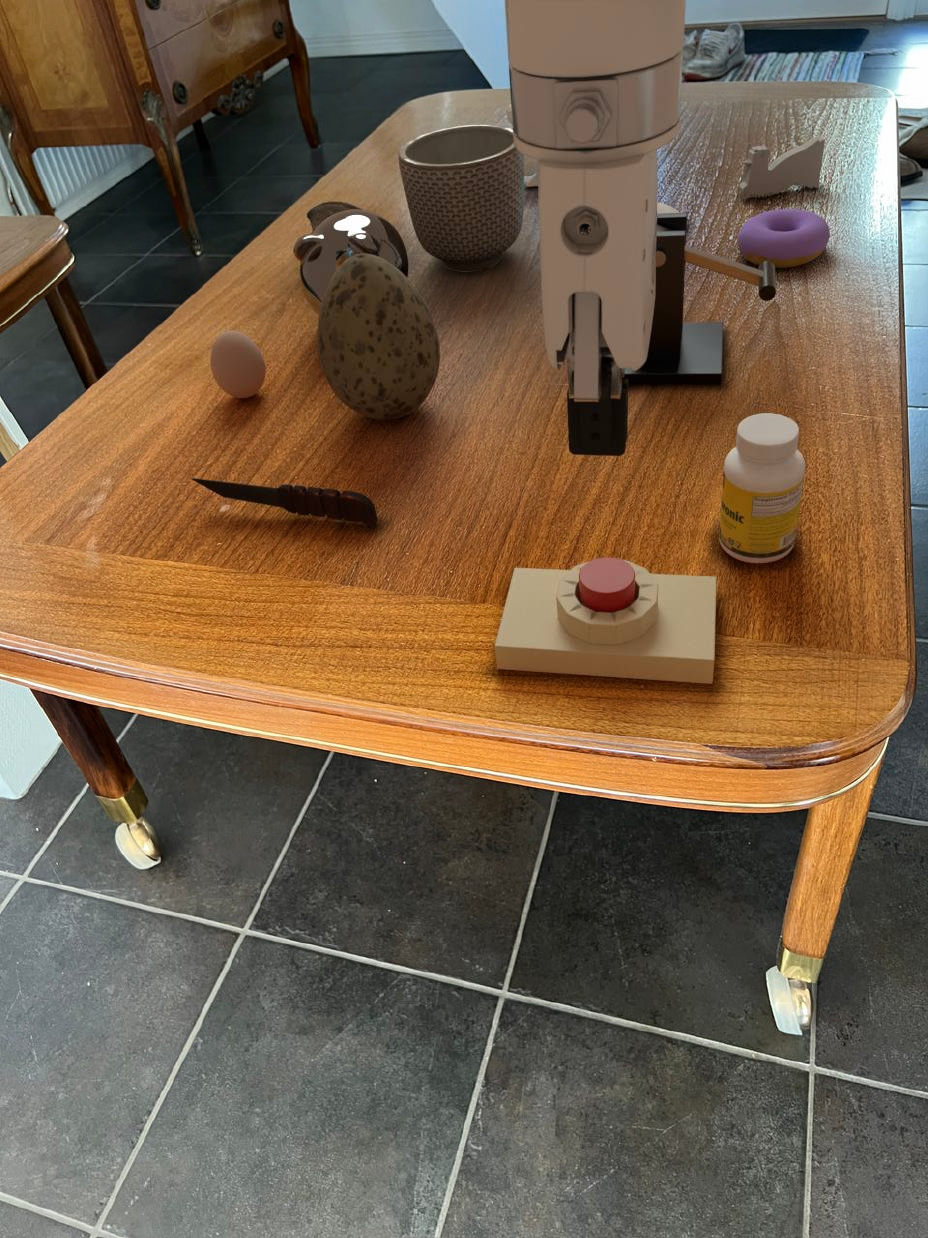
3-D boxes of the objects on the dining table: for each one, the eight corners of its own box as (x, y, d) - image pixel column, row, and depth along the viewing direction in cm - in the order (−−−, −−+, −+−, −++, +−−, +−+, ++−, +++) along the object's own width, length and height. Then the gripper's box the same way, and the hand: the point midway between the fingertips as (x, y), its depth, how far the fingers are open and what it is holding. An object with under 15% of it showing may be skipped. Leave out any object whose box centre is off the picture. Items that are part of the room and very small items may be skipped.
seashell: (317, 234, 124) (318, 178, 119) (386, 244, 124) (389, 188, 120) (291, 287, 112) (291, 227, 107) (367, 297, 112) (370, 238, 108)
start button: (637, 578, 64) (637, 557, 62) (632, 614, 61) (632, 594, 60) (583, 575, 64) (582, 555, 63) (576, 611, 62) (575, 591, 61)
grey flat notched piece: (818, 188, 117) (739, 201, 117) (813, 184, 118) (734, 197, 118) (825, 138, 113) (743, 151, 113) (820, 135, 114) (739, 148, 114)
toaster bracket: (722, 332, 94) (732, 199, 85) (721, 385, 87) (731, 245, 78) (599, 334, 96) (597, 205, 88) (588, 385, 89) (584, 250, 81)
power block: (714, 600, 66) (718, 555, 64) (712, 684, 61) (716, 639, 58) (516, 590, 70) (512, 547, 67) (497, 669, 64) (491, 626, 61)
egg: (282, 392, 95) (264, 329, 91) (238, 414, 93) (218, 350, 88) (255, 377, 98) (236, 314, 94) (212, 397, 96) (191, 335, 92)
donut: (801, 277, 99) (797, 229, 97) (723, 277, 106) (718, 233, 103) (847, 241, 104) (845, 195, 101) (770, 244, 110) (766, 201, 108)
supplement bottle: (711, 523, 72) (719, 411, 66) (783, 516, 72) (799, 402, 65) (725, 569, 68) (736, 454, 62) (802, 562, 68) (821, 446, 61)
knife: (197, 506, 82) (186, 478, 80) (203, 500, 83) (192, 471, 81) (375, 529, 77) (368, 498, 75) (379, 522, 78) (372, 491, 76)
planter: (536, 232, 117) (529, 118, 108) (524, 282, 107) (515, 161, 98) (426, 239, 120) (410, 128, 111) (404, 288, 110) (385, 170, 101)
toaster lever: (767, 282, 87) (780, 258, 85) (768, 308, 83) (781, 283, 82) (641, 241, 87) (651, 215, 85) (637, 264, 83) (647, 238, 81)
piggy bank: (293, 357, 100) (265, 250, 93) (337, 293, 111) (315, 192, 103) (394, 357, 98) (373, 247, 90) (429, 292, 108) (414, 187, 100)
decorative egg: (322, 403, 93) (284, 251, 83) (425, 372, 95) (400, 220, 85) (354, 457, 85) (316, 296, 75) (465, 421, 87) (443, 260, 77)
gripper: (672, 155, 37) (656, 531, 49) (688, 49, 47) (671, 381, 60) (481, 163, 38) (512, 524, 51) (537, 58, 49) (551, 380, 61)
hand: (598, 446), depth 55 cm, fingers closed
